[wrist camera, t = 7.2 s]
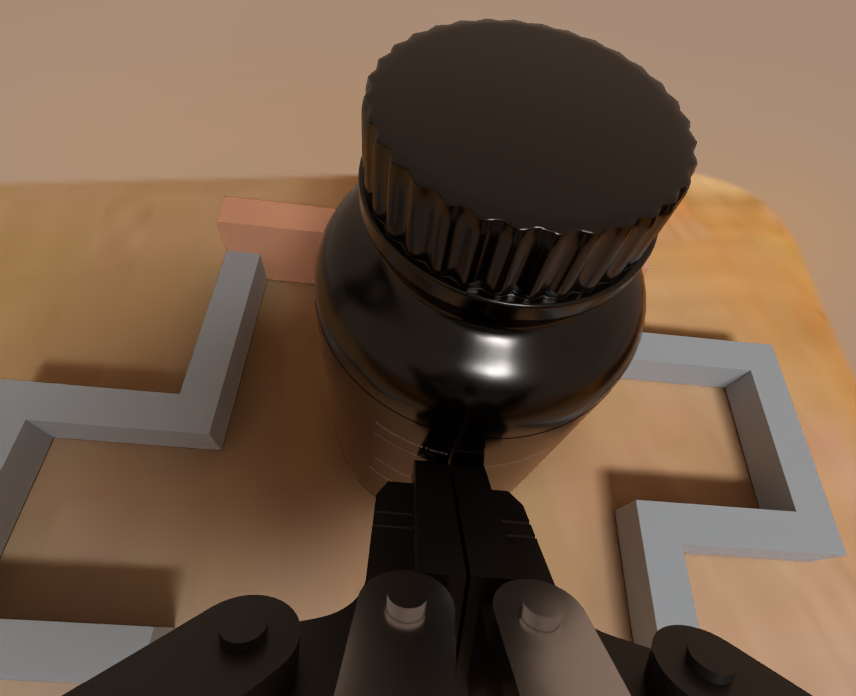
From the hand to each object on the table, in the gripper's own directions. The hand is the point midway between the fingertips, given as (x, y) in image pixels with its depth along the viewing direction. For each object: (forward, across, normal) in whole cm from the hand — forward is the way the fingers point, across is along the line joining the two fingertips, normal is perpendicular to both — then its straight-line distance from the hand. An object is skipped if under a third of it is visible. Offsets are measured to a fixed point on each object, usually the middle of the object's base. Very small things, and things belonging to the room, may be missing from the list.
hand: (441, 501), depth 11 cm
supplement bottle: (+7, 0, +1) cm, 7 cm away
